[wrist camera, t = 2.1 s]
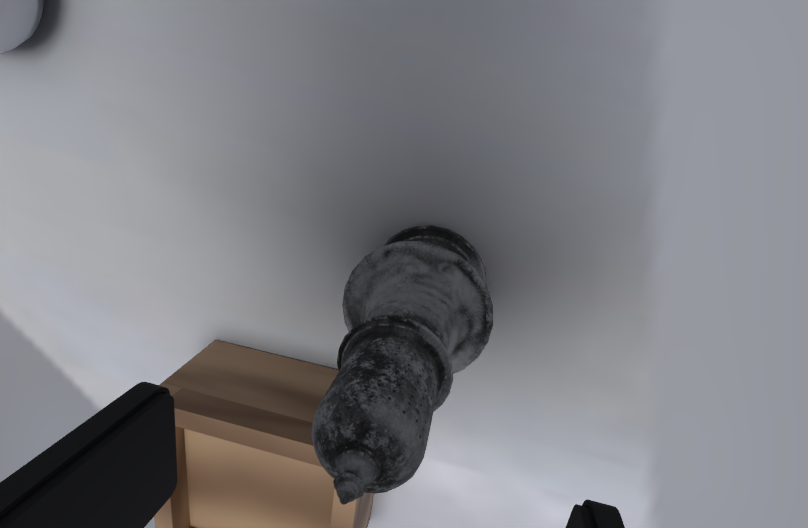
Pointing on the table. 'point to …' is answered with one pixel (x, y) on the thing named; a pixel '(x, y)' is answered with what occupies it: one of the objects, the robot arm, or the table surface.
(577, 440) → the table surface
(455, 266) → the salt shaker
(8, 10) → the plastic bottle
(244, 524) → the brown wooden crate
